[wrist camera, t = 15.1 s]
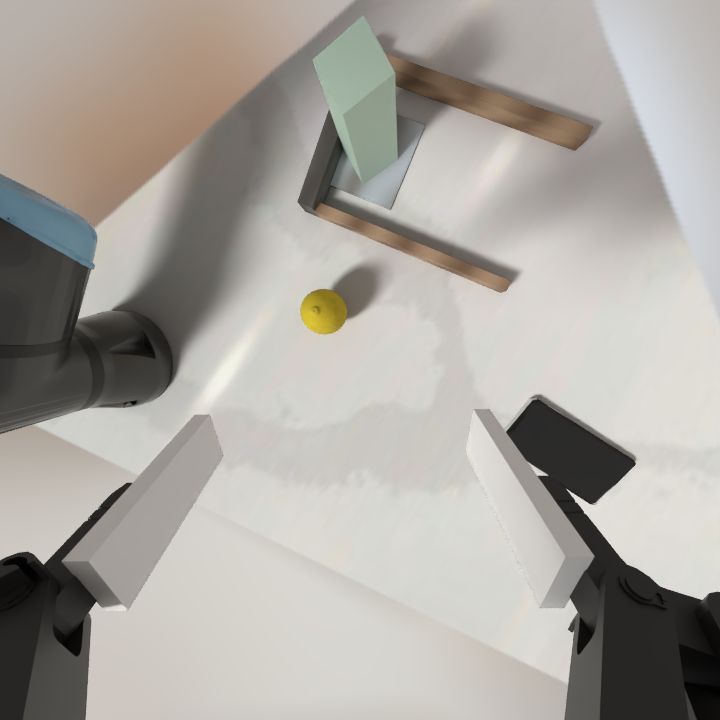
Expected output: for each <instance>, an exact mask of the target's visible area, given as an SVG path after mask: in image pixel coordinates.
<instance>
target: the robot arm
mask: <svg viewBox="0 0 720 720" xmlns="http://www.w3.org/2000/svg"><path fill="white" fill-rule="evenodd" d="M96 245H97V234H96V231H95V229H94V228H93V227H92V225H91V224H90V223H88V221H86V220H85V219H84V218H83V217H81V216H80V215H78V214H77V213H75V212H73V211H71V210H70V209H68V208H66V207H64V206H63V205H61V204H59V203H57V202H55V201H53V200H51V199H49V198H48V197H46V196H44V195H42V194H40V193H38V192H36V191H34V190H32V189H30V188H28V187H26V186H24V185H22V184H20V183H18V182H16V181H14V180H12V179H10V178H8V177H6V176H4V175H2V174H0V434H2V433H5V432H8V431H12V430H15V429H19V428H22V427H25V426H28V425H32V424H35V423H39V422H42V421H45V420H49V419H52V418H56V417H59V416H62V415H66V414H69V413H72V412H76V411H79V410H83V409H87V408H125V407H134V406H138V405H141V404H144V403H147V402H150V401H153V400H154V399H156V398H157V397H159V396H160V395H161V394H162V393H163V392H164V390H165V389H166V387H167V386H168V383H169V381H170V378H171V373H172V357H171V352H170V349H169V346H168V343H167V341H166V339H165V337H164V335H163V334H162V332H161V331H160V330H159V329H158V327H157V326H156V325H155V324H154V323H153V322H151V321H150V320H149V319H147V318H146V317H144V316H142V315H140V314H137V313H134V312H129V311H106V312H101V313H98V314H95V315H91V316H88V317H84V318H81V319H78V315H79V312H80V308H81V305H82V301H83V297H84V294H85V290H86V286H87V283H88V279H89V275H90V272H91V269H94V267H95V265H94V264H93V259H94V255H95V250H96ZM466 453H467V455H468V458H469V460H470V462H471V464H472V466H473V468H474V470H475V472H476V475H477V477H478V479H479V481H480V483H481V485H482V487H483V489H484V492H485V494H486V496H487V498H488V500H489V502H490V504H491V506H492V509H493V511H494V513H495V515H496V517H497V519H498V521H499V523H500V526H501V528H502V530H503V532H504V534H505V536H506V538H507V540H508V543H509V545H510V547H511V549H512V551H513V553H514V555H515V557H516V560H517V562H518V564H519V566H520V568H521V570H522V572H523V574H524V577H525V579H526V581H527V583H528V585H529V587H530V589H531V591H532V594H533V596H534V598H535V600H536V602H537V604H538V606H539V608H564V607H565V606H566V604H567V602H568V601H569V599H571V600H572V602H573V604H574V606H575V607H576V609H577V611H578V613H577V614H576V616H575V617H574V619H573V620H572V622H571V624H570V626H569V628H568V630H569V631H571V632H573V631H574V638H573V647H572V656H571V665H570V674H569V683H568V692H567V702H566V712H565V720H720V592H714V593H709V594H708V595H707V596H706V597H705V598H704V599H703V600H700V599H697V598H694V597H691V596H687V595H684V594H681V593H678V592H674V591H671V590H668V589H665V588H662V587H660V586H659V585H658V584H657V583H655V582H654V581H653V580H652V579H651V578H650V577H649V576H647V575H646V574H644V573H643V572H641V571H640V570H638V569H637V568H634V567H632V566H629V565H627V564H626V563H625V562H624V561H623V560H622V559H621V558H620V557H619V555H618V554H617V553H616V551H615V550H614V549H613V548H612V546H611V545H610V544H609V543H608V541H607V540H606V539H605V538H604V536H603V535H602V534H601V533H600V531H599V530H598V529H597V527H596V526H595V525H594V524H593V522H592V521H591V520H590V519H589V517H588V516H587V515H586V514H584V511H583V510H582V509H581V507H580V506H579V505H578V503H575V500H574V498H573V497H572V496H571V495H570V493H569V492H568V491H567V490H566V488H565V487H564V486H563V485H561V484H560V483H559V482H557V481H556V480H555V479H554V478H552V477H551V476H537V475H536V474H535V472H534V471H533V469H532V468H531V467H530V465H529V464H528V462H527V461H526V460H525V458H524V457H523V456H522V454H521V453H520V451H519V450H518V449H517V447H516V446H515V444H514V443H513V442H512V440H511V439H510V437H509V436H508V435H507V433H506V432H505V430H504V429H503V428H502V426H501V425H500V423H499V422H498V421H497V419H496V418H495V416H494V415H493V414H492V412H491V411H490V409H474V410H473V416H472V421H471V426H470V432H469V437H468V442H467V448H466ZM222 457H223V453H222V450H221V447H220V444H219V441H218V438H217V435H216V432H215V429H214V426H213V423H212V420H211V417H210V415H194V416H193V417H192V419H191V420H190V421H189V422H188V423H187V424H186V425H185V426H184V427H183V428H182V430H181V431H180V432H179V433H178V434H177V435H176V436H175V437H174V438H173V439H172V441H171V442H170V443H169V444H168V445H167V446H166V447H165V448H164V449H163V450H162V451H161V453H160V454H159V455H158V456H157V457H156V458H155V459H154V460H153V461H152V462H151V464H150V465H149V466H148V467H147V468H146V469H145V470H144V471H143V472H142V473H141V475H140V476H139V477H138V478H137V479H136V480H135V481H134V482H133V483H126V484H125V485H123V486H122V487H121V488H119V489H118V490H116V491H115V492H114V493H112V494H111V495H110V496H109V497H108V498H107V499H106V500H105V501H104V502H103V503H102V504H101V506H100V507H99V509H98V510H96V511H95V512H94V513H93V514H92V515H91V516H90V517H89V518H88V521H85V522H84V523H83V524H82V525H81V527H79V528H78V530H76V532H75V533H74V534H73V535H72V536H71V537H70V538H69V539H68V540H67V541H66V542H65V543H64V544H63V545H62V546H61V547H60V549H58V551H57V552H55V554H54V555H53V556H52V557H51V558H50V559H49V560H48V561H47V562H46V563H45V564H44V565H43V564H42V563H41V562H40V561H39V560H38V559H37V557H36V556H35V555H34V554H32V553H29V552H22V553H17V554H14V555H11V556H9V557H6V558H4V559H2V560H0V720H85V718H86V701H87V684H88V667H89V649H90V634H91V633H90V632H91V618H90V614H89V613H88V612H89V611H90V610H91V608H92V607H93V605H94V604H95V603H96V602H97V603H98V604H99V605H100V606H101V607H102V608H103V609H104V610H105V611H127V610H129V608H130V607H131V605H132V603H133V602H134V600H135V598H136V597H137V595H138V594H139V592H140V590H141V589H142V587H143V585H144V584H145V582H146V581H147V579H148V577H149V576H150V574H151V572H152V571H153V569H154V568H155V566H156V564H157V563H158V561H159V560H160V558H161V556H162V555H163V553H164V551H165V550H166V548H167V547H168V545H169V543H170V542H171V540H172V538H173V537H174V535H175V534H176V532H177V530H178V529H179V527H180V526H181V524H182V522H183V521H184V519H185V517H186V516H187V514H188V512H189V511H190V509H191V508H192V506H193V504H194V503H195V501H196V500H197V498H198V496H199V495H200V493H201V491H202V490H203V488H204V487H205V485H206V483H207V482H208V480H209V479H210V477H211V475H212V474H213V472H214V470H215V469H216V467H217V466H218V464H219V462H220V461H221V459H222Z"/></svg>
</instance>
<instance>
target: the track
mask: <svg viewBox="0 0 720 720" xmlns="http://www.w3.org/2000/svg"><path fill="white" fill-rule="evenodd" d="M385 55H386V57H387V58H388V60H389V62H390V64H391V66H392V68H393V70H394V71H395V85H396V86H399V87H401V88H404V89H407V90H410V91H412V92H415V93H418V94H421V95H423V96H426V97H429V98H432V99H434V100H437V101H440V102H443V103H445V104H448V105H451V106H454V107H456V108H459V109H462V110H465V111H467V112H470V113H473V114H476V115H478V116H481V117H484V118H487V119H489V120H492V121H495V122H498V123H500V124H503V125H506V126H509V127H511V128H514V129H517V130H520V131H522V132H525V133H528V134H531V135H533V136H536V137H539V138H542V139H544V140H547V141H550V142H553V143H555V144H558V145H561V146H564V147H566V148H569V149H572V150H576V149H577V148H578V147H579V146H580V145H581V144H582V143H583V142H584V141H585V140H586V139H587V137H588V136H589V134H590V132H591V130H592V128H593V127H592V126H589V125H586V124H583V123H580V122H578V121H575V120H572V119H569V118H566V117H564V116H561V115H558V114H555V113H552V112H549V111H547V110H544V109H541V108H538V107H535V106H532V105H530V104H527V103H524V102H521V101H518V100H516V99H513V98H510V97H507V96H504V95H501V94H499V93H496V92H493V91H490V90H487V89H484V88H482V87H479V86H476V85H473V84H470V83H468V82H465V81H462V80H459V79H456V78H453V77H451V76H448V75H445V74H442V73H439V72H437V71H434V70H431V69H428V68H425V67H422V66H420V65H417V64H414V63H411V62H408V61H405V60H403V59H400V58H397V57H394V56H391V55H389V54H386V53H385ZM396 119H397V154H398V160H396V161H395V162H394V163H392V164H391V165H390V166H388V167H387V168H385V169H384V170H383V171H381V172H380V173H379V174H377V175H376V176H374V177H373V178H372V179H370V180H369V181H367V182H366V183H365V184H363V183H362V182H361V180H360V178H359V176H358V174H357V173H356V171H355V169H354V167H353V166H352V164H351V162H350V160H349V158H348V157H347V155H346V153H345V151H344V149H343V147H342V144H341V141H340V138H339V135H338V132H337V129H336V127H335V124H334V121H333V118H332V115H331V112H330V109H329V111H328V114H327V117H326V120H325V123H324V126H323V129H322V132H321V135H320V138H319V141H318V143H317V146H316V149H315V152H314V155H313V158H312V161H311V164H310V167H309V170H308V173H307V176H306V179H305V181H304V184H303V187H302V190H301V193H300V196H299V199H298V203H299V204H300V206H301V207H302V208H303V209H304V210H305V211H306V212H308V213H310V214H313V215H315V216H318V217H320V218H322V219H325V220H327V221H330V222H332V223H334V224H337V225H339V226H342V227H344V228H346V229H349V230H351V231H354V232H356V233H358V234H361V235H363V236H366V237H368V238H370V239H373V240H375V241H378V242H380V243H382V244H385V245H387V246H390V247H392V248H394V249H397V250H399V251H402V252H404V253H406V254H409V255H411V256H414V257H416V258H418V259H421V260H423V261H426V262H428V263H430V264H433V265H435V266H438V267H440V268H442V269H445V270H447V271H450V272H452V273H454V274H457V275H459V276H462V277H464V278H466V279H469V280H471V281H474V282H476V283H478V284H481V285H483V286H486V287H488V288H490V289H493V290H495V291H498V292H500V293H501V292H504V291H507V289H508V287H509V285H510V283H511V281H510V280H507V279H505V278H502V277H500V276H497V275H495V274H493V273H490V272H488V271H485V270H483V269H480V268H478V267H475V266H473V265H471V264H468V263H466V262H463V261H461V260H458V259H456V258H454V257H451V256H449V255H446V254H444V253H441V252H439V251H437V250H434V249H432V248H429V247H427V246H424V245H422V244H420V243H417V242H415V241H412V240H410V239H407V238H405V237H403V236H400V235H398V234H395V233H393V232H390V231H388V230H386V229H383V228H381V227H378V226H376V225H373V224H371V223H369V222H366V221H364V220H361V219H359V218H356V217H354V216H352V215H349V214H347V213H344V212H342V211H339V210H337V209H335V208H332V207H330V206H327V205H325V204H324V203H325V200H326V197H327V195H328V192H329V189H330V186H333V187H335V188H338V189H340V190H343V191H345V192H348V193H350V194H353V195H355V196H358V197H360V198H362V199H365V200H367V201H370V202H372V203H375V204H377V205H380V206H382V207H385V208H387V209H391V207H392V205H393V202H394V200H395V197H396V195H397V192H398V190H399V188H400V185H401V183H402V180H403V178H404V175H405V173H406V171H407V168H408V166H409V163H410V161H411V158H412V156H413V154H414V151H415V149H416V146H417V144H418V142H419V139H420V137H421V134H422V132H423V129H424V127H425V125H424V124H421V123H418V122H416V121H413V120H410V119H408V118H405V117H402V116H399V115H397V114H396Z"/></svg>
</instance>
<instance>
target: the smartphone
mask: <svg viewBox="0 0 720 720" xmlns="http://www.w3.org/2000/svg"><path fill="white" fill-rule="evenodd" d="M504 430H505V432H506V433H507V435H508V436H509V437H510V439H511V440H512V442H513V443H514V444H515V446H516V447H517V449H518V450H519V451H520V453H521V454H522V456H523V457H524V458H525V460H526V461H527V462H528V464H529V465H530V466H532V467H534V468H535V469H537V470H538V471H540V472H541V473H543V474H544V475H546V476H551V477H552V478H554V479H555V480H556V481H557V482H559V483H560V484H561V485H563V486H564V487H565V488H566V489H568V490H569V491H571V492H572V493H574V494H575V495H577V496H578V497H580V498H582V499H583V500H585V501H586V502H588V503H589V504H592V505H595V504H597V503H598V502H599V501H600V500H601V499H602V498H603V497H604V496H605V495H606V494H607V493H608V492H609V491H610V490H611V489H612V488H613V487H614V486H615V485H616V484H617V483H618V482H619V481H620V480H621V479H622V478H623V477H624V476H625V475H626V474H627V473H628V472H629V471H630V470H631V469H632V468H633V467H634V466H635V464H636V463H635V461H634V460H633V459H631V458H629V457H628V456H626V455H625V454H623V453H622V452H620V451H618V450H617V449H615V448H614V447H612V446H611V445H609V444H607V443H606V442H604V441H603V440H601V439H600V438H598V437H596V436H595V435H593V434H592V433H590V432H589V431H587V430H585V429H584V428H582V427H581V426H579V425H577V424H576V423H574V422H573V421H571V420H570V419H568V418H566V417H565V415H564V414H562V413H561V412H559V411H558V410H556V409H554V408H553V407H551V406H550V405H548V404H547V405H546V404H544V403H543V402H541V401H540V400H538V399H536V398H529V400H528V401H527V402H526V403H525V404H524V406H523V407H522V408H521V409H520V410H519V412H518V413H517V414H516V415H515V417H514V418H513V419H512V420H511V421H510V423H509V424H508V425H507V426H506V427H505V429H504Z"/></svg>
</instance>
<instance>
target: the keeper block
mask: <svg viewBox="0 0 720 720" xmlns="http://www.w3.org/2000/svg"><path fill="white" fill-rule="evenodd" d="M313 63H314V66H315V69H316V72H317V75H318V78H319V80H320V83H321V86H322V89H323V92H324V95H325V98H326V101H327V103H328V106H329V109H330V112H331V115H332V118H333V121H334V124H335V127H336V129H337V132H338V135H339V138H340V141H341V144H342V147H343V149H344V151H345V153H346V155H347V157H348V158H349V160H350V162H351V164H352V166H353V167H354V169H355V171H356V173H357V174H358V176H359V178H360V180H361V182H362V183H363V184H365V183H366V182H367V181H369V180H370V179H372V178H373V177H374V176H376V175H377V174H379V173H380V172H381V171H383V170H384V169H385V168H387V167H388V166H390V165H391V164H392V163H394V162H395V161H396V160H398V154H397V119H396V85H395V71H394V70H393V68H392V66H391V64H390V62H389V60H388V58H387V57H386V55H385V53H384V51H383V49H382V47H381V45H380V44H379V42H378V40H377V38H376V36H375V34H374V32H373V31H372V29H371V27H370V25H369V23H368V21H367V19H366V18H365V16H364V15H363V16H362V17H360V18H359V19H358V20H357V21H356V22H355V23H354V24H352V25H351V26H350V27H349V28H348V29H347V30H346V31H344V32H343V33H342V34H341V35H340V36H339V37H338V38H336V39H335V40H334V41H333V42H332V43H331V44H330V45H328V46H327V47H326V48H325V49H324V50H323V51H322V52H320V53H319V54H318V55H317V56H316V57H315V58H314V59H313Z"/></svg>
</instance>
